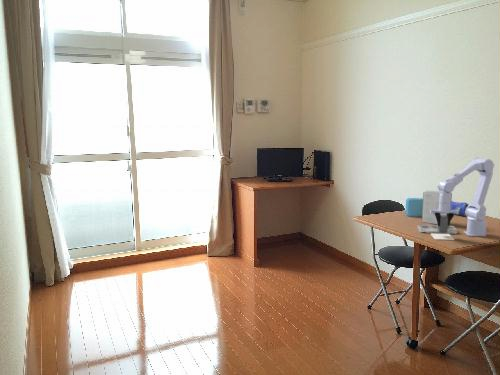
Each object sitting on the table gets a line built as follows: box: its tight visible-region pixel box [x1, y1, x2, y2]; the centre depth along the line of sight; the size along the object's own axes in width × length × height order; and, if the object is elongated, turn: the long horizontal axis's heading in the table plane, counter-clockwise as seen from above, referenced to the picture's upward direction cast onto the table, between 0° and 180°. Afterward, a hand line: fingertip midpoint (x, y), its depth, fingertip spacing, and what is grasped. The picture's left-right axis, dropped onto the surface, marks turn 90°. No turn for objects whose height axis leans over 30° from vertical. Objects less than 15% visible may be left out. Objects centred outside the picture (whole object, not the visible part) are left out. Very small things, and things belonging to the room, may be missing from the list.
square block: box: [438, 215, 448, 234], centre depth 233 cm, size 4×4×9 cm
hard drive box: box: [421, 190, 453, 225], centre depth 261 cm, size 16×8×20 cm, turn 47°
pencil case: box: [451, 200, 470, 217], centre depth 284 cm, size 22×9×10 cm, turn 34°
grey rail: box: [417, 224, 458, 235], centre depth 245 cm, size 20×8×3 cm, turn 80°
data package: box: [405, 197, 423, 218], centre depth 280 cm, size 12×4×12 cm, turn 90°
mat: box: [430, 233, 455, 241], centre depth 233 cm, size 10×10×1 cm
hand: (443, 226), depth 232 cm, fingers closed on square block, 4 cm apart
